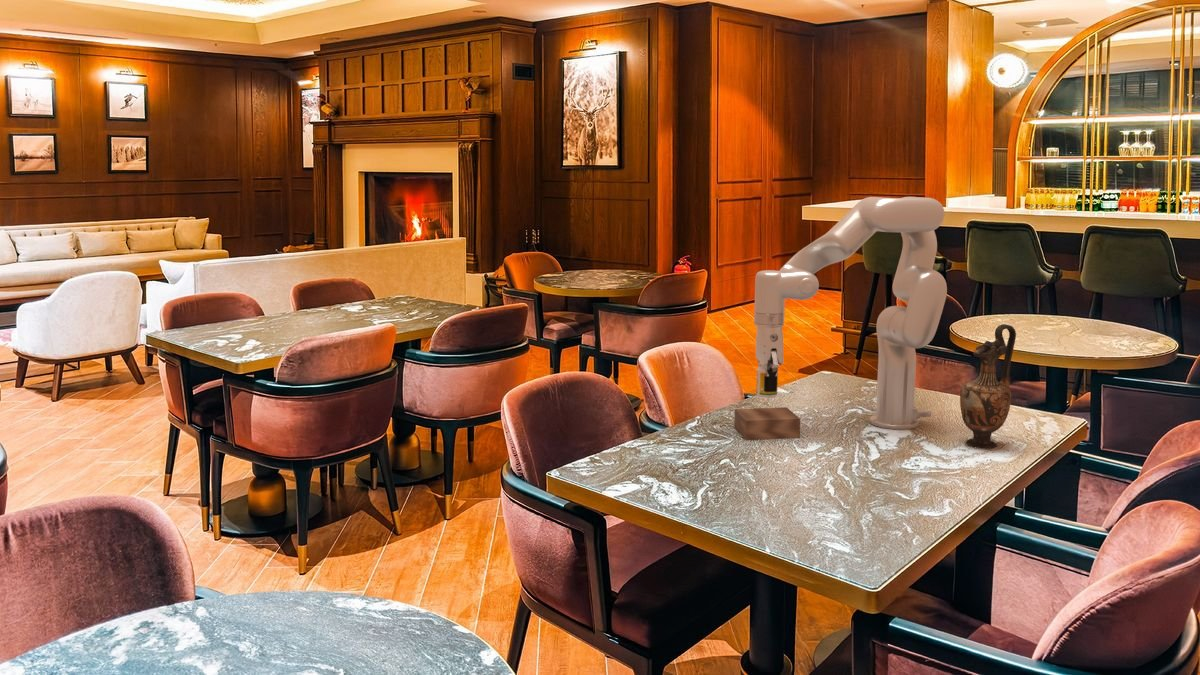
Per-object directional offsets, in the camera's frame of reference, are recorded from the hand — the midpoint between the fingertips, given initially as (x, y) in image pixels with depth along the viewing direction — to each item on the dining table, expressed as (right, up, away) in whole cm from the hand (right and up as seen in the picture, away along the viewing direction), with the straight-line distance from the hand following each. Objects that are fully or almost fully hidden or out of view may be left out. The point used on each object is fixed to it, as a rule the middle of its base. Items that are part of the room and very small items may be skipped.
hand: (767, 388), depth 245 cm
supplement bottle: (0, -2, 0) cm, 2 cm away
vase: (+52, -14, -10) cm, 54 cm away
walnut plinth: (0, -12, +2) cm, 12 cm away
